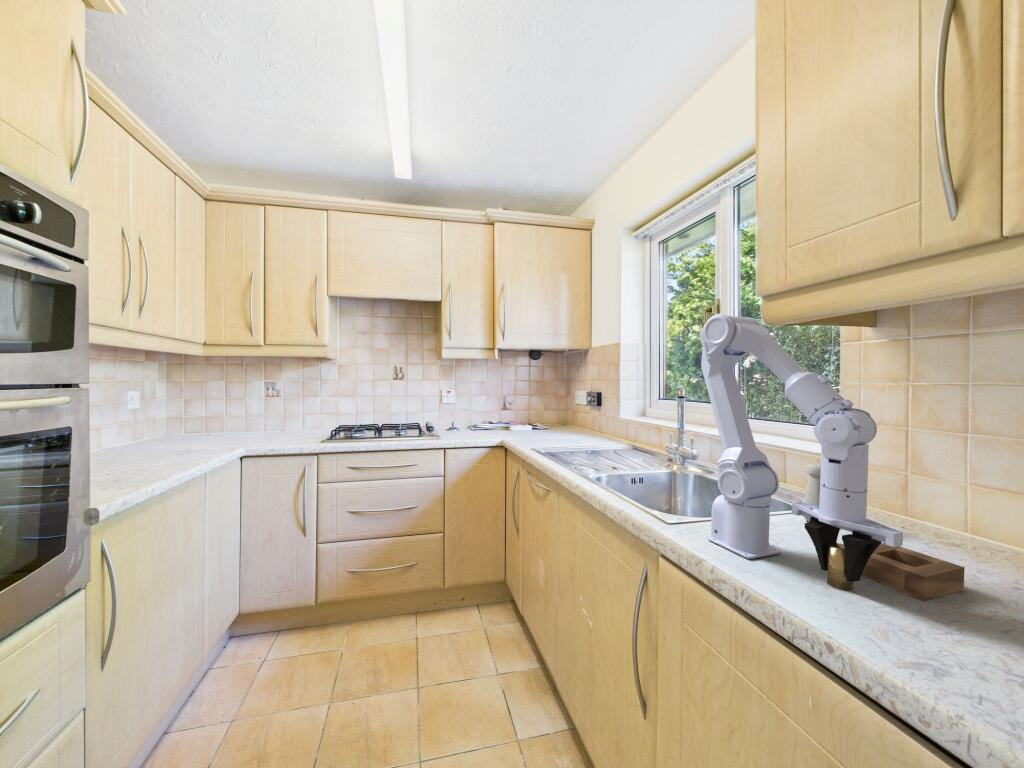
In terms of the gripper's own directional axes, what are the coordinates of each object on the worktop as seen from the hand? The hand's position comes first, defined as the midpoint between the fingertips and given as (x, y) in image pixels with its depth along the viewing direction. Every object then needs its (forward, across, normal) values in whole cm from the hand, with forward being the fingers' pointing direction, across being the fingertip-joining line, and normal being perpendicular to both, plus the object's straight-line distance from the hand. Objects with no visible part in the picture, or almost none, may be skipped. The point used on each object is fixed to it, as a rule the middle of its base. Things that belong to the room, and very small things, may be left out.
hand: (839, 574), depth 65 cm
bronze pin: (+2, 0, 0) cm, 2 cm away
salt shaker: (+2, -21, +26) cm, 33 cm away
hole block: (+2, +2, +12) cm, 12 cm away
